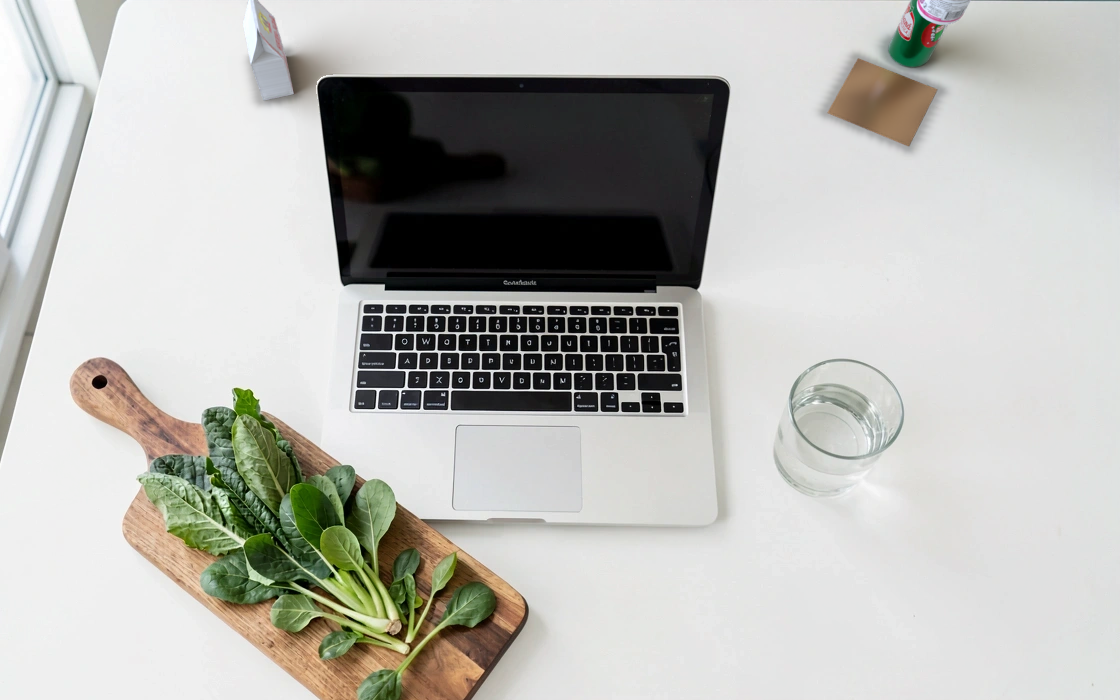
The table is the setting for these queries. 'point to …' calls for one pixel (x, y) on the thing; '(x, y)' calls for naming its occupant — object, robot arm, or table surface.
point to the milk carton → (266, 52)
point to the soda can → (914, 38)
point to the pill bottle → (942, 10)
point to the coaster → (882, 101)
